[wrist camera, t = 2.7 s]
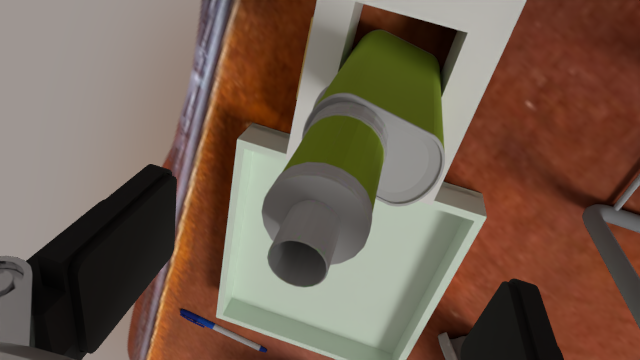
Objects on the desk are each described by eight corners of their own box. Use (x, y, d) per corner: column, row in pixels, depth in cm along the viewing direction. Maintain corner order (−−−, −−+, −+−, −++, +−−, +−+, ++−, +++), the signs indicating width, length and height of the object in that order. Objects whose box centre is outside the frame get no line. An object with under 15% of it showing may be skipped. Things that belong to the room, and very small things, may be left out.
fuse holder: (341, -65, 24) (324, -65, 20) (514, -18, 23) (530, -9, 19) (300, 131, 31) (281, 158, 27) (431, 171, 30) (431, 205, 26)
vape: (365, 20, 26) (246, 173, 9) (449, 62, 26) (481, 289, 9) (341, 72, 28) (208, 275, 11) (419, 111, 28) (402, 369, 11)
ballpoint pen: (181, 310, 46) (177, 317, 45) (182, 306, 46) (178, 313, 45) (266, 349, 46) (263, 357, 45) (268, 345, 46) (265, 353, 45)
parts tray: (252, 122, 32) (237, 138, 29) (482, 193, 30) (486, 217, 28) (228, 294, 42) (216, 317, 40) (396, 352, 41) (394, 379, 39)
